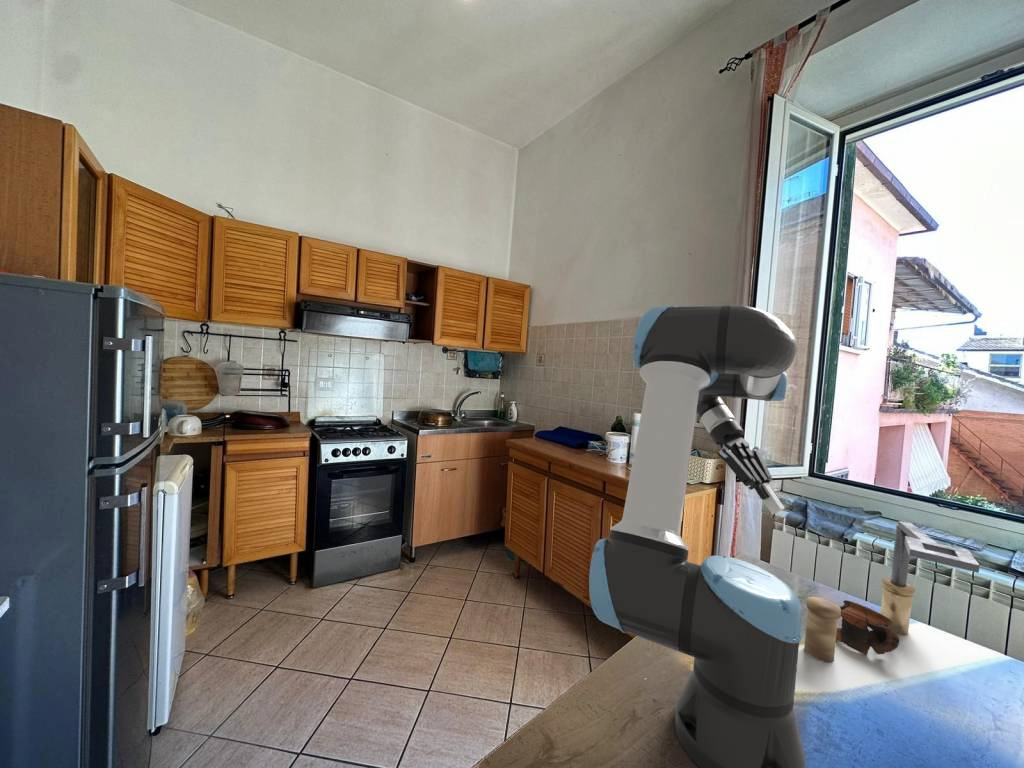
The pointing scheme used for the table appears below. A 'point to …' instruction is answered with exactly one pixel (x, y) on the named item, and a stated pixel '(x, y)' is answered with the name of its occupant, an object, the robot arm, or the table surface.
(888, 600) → the aperture bracket
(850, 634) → the broken brown pot
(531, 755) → the table surface
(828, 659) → the oak collar post
